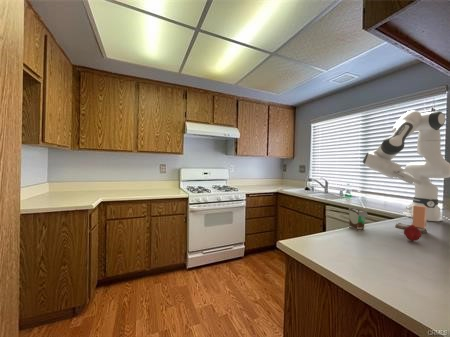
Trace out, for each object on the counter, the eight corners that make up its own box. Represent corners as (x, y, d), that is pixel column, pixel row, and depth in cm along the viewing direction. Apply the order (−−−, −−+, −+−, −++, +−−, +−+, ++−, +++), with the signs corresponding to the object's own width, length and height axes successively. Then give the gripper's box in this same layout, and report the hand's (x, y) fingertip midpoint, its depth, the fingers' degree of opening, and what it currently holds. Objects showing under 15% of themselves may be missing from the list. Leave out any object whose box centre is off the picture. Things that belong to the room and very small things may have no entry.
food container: (371, 232, 104) (372, 213, 103) (358, 231, 104) (359, 212, 104) (359, 225, 116) (360, 208, 115) (347, 224, 117) (348, 207, 116)
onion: (424, 244, 89) (425, 226, 89) (409, 242, 90) (410, 225, 90) (414, 239, 95) (415, 222, 95) (400, 238, 96) (401, 221, 96)
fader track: (395, 227, 115) (395, 223, 115) (398, 225, 118) (398, 222, 117) (424, 233, 105) (424, 229, 105) (426, 232, 108) (427, 228, 108)
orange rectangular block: (412, 228, 109) (413, 205, 109) (414, 226, 111) (416, 205, 111) (423, 230, 105) (425, 207, 105) (425, 229, 108) (427, 206, 108)
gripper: (398, 168, 109) (429, 181, 103) (395, 164, 126) (421, 175, 120) (391, 177, 112) (420, 191, 106) (388, 172, 128) (413, 184, 122)
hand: (420, 183), depth 113 cm, fingers closed
